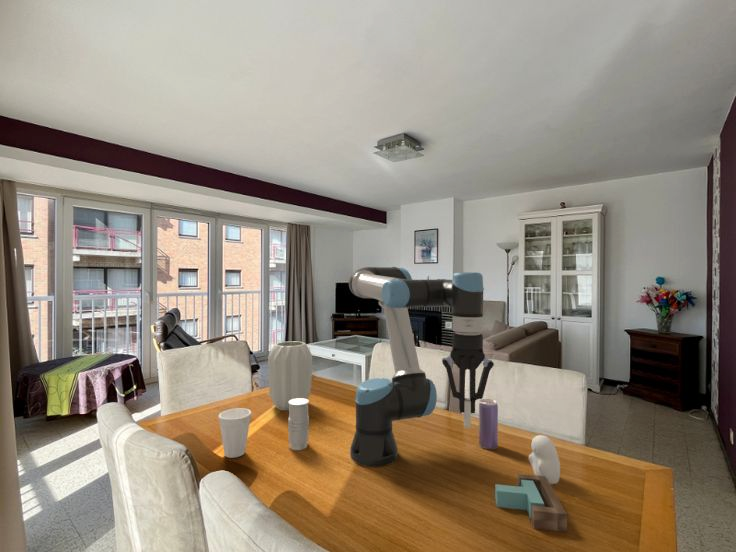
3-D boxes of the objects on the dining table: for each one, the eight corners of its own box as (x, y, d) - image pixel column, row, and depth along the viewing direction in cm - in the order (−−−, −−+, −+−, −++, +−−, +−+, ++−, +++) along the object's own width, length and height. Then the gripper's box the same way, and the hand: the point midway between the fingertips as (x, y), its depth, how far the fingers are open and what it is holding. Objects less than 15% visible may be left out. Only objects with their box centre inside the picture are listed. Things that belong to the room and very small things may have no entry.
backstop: (533, 528, 85) (533, 510, 85) (517, 488, 101) (517, 473, 101) (566, 531, 84) (567, 514, 84) (545, 491, 100) (545, 476, 100)
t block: (499, 515, 89) (499, 499, 89) (493, 492, 99) (493, 477, 99) (544, 520, 88) (544, 503, 88) (533, 496, 98) (533, 480, 98)
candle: (283, 446, 125) (283, 401, 125) (300, 439, 130) (300, 396, 130) (296, 452, 121) (296, 406, 121) (313, 445, 126) (313, 401, 126)
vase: (308, 414, 154) (308, 348, 154) (261, 414, 154) (261, 347, 154) (315, 399, 174) (315, 340, 174) (273, 398, 174) (274, 339, 174)
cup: (211, 458, 117) (211, 416, 117) (232, 445, 126) (233, 406, 126) (237, 464, 113) (237, 421, 113) (257, 449, 123) (257, 410, 123)
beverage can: (498, 451, 122) (498, 405, 123) (479, 449, 124) (480, 404, 124) (496, 443, 128) (496, 399, 128) (478, 441, 130) (478, 398, 130)
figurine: (526, 472, 109) (526, 431, 109) (551, 471, 110) (551, 430, 110) (539, 485, 102) (539, 441, 102) (565, 484, 103) (565, 441, 103)
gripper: (441, 334, 93) (441, 429, 93) (496, 335, 90) (496, 433, 91) (441, 329, 100) (440, 417, 100) (491, 331, 98) (491, 421, 98)
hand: (467, 425), depth 95 cm, fingers closed
